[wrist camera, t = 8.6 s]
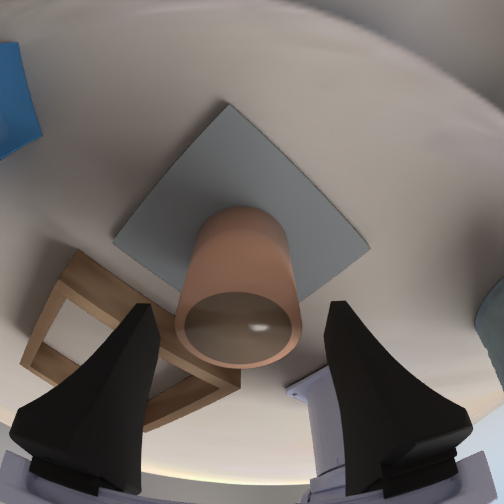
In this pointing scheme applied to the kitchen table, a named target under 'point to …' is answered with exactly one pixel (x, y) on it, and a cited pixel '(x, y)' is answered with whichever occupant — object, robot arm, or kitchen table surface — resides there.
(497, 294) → the green pot
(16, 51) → the perfume bottle
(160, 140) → the kitchen table surface
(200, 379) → the wooden square frame
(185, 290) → the terracotta pot
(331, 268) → the slate mat
